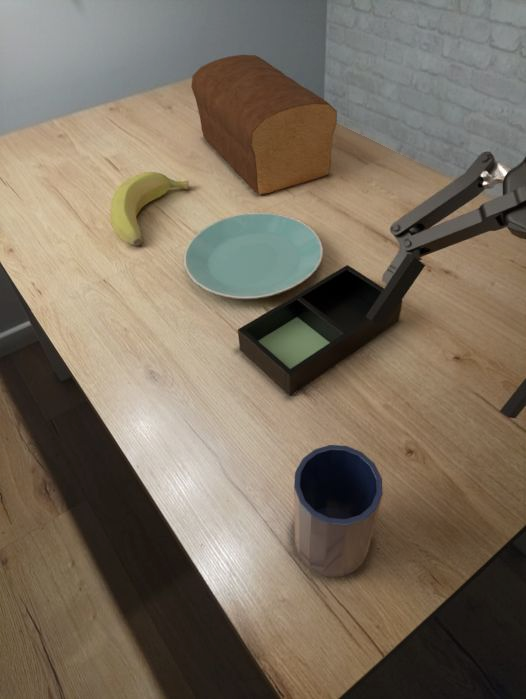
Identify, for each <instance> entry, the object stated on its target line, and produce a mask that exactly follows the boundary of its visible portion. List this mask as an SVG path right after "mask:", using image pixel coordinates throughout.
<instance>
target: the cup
mask: <svg viewBox="0 0 526 699" xmlns="http://www.w3.org/2000/svg"><path fill="white" fill-rule="evenodd" d="M383 492H384V491H383V478H382V475H381V474H380V472H379V469H378V467H377V465H376V464H375V462H374V461H372V460H371V459H370V458H369V457H368V456H367V455H366V454H365V453H363V452H362V451H360V450H358V449H355V448H354V447H353V448H352V447H351V446H348V445H339V444H338V445H337V444H328V445H325V446H321V447H318V448H314V449H313V450H311V452H309V453H308V454H306V455H305V456H304V457H303V458H302V459H301V461H300V462H299V465H298V466H297V468H296V470H295V472H294V482H293V499H294V500H293V503H294V505H293V506H294V508H293V510H294V511H293V512H294V543H295V547H296V551H297V554H298V556H299V557H300V559H301V561H302V562H303V564H304V565H305V566H306V567H308V568H309V569H310V570H311V571H313V572H315V573H316V574H317V575H320V576H324V577H329V578H340V577H344V576H345V577H346V576H348V575H350V574H352V573H354V572H355V571H357V570H358V569H359V568H360V567H361V566H362V564H363V563H364V561H365V559H366V557H367V554H368V552H369V550H370V546H371V543H372V542H371V541H372V538H373V534H374V531H375V526H376V523H377V519H378V514H379V510H380V507H381V502H382V498H383V494H384V493H383Z"/></svg>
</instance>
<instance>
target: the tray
mask: <svg viewBox="0 0 526 699" xmlns="http://www.w3.org/2000/svg"><path fill="white" fill-rule="evenodd" d="M384 288H385V287H383V286H381V285H380V284H378V283H376V282H375V281H373V280H372V279H370V278H369V277H367V276H366V275H364V274H363V273H361V272H359V271H358V270H356V269H355V268H353V267H351V266H350V265H348V264H347V265H345V266H343V267H341V268H339V269H338V270H336V271H334V272H332V273H331V274H329V275H327V276H326V277H324V278H322V279H321V280H319V281H317V282H315V283H314V284H312V285H311V286H309V287H307V288H306V289H304V290H302V291H301V292H298V293H297V294H295V295H294V296H292V297H290V298H288V299H287V300H285V301H284V302H282V303H280V304H278V305H277V306H275V307H274V308H272V309H270V310H268V311H267V312H265V313H263V314H261V315H260V316H258V317H257V318H254V319H252V320H251V321H249V322H248V323H246V324H245V325H243V326H241V327H239V328H237V335H238V336H237V337H238V343H239V344H238V345H239V351H240V352H241V353H243V355H244V356H245V357H247V358H248V359H249V360H250V361H251V362H252V363H253V364H254V365H255V366H256V367H257V368H259V370H261V371H262V372H263V373H264V374H265V375H266V376H267V377H269V379H271V380H272V381H273V382H274V383H275V384H276V385H277V386H278V387H279V388H280V389H281V390H282V391H284V393H286V395H288V396H289V397H291V396H292V395H294V394H296V393H297V392H299V391H301V389H303V388H304V387H306V386H307V385H309V384H310V383H312V382H313V381H315V380H316V379H317V378H319V377H320V376H321V375H323V374H324V373H326V372H328V371H329V370H330V369H332V368H333V367H335V366H336V365H338V364H339V363H341V362H342V361H344V360H345V359H346V358H348V357H350V356H351V355H352V354H354V353H355V352H356V351H358V350H360V349H361V348H363V347H364V346H365V345H367V344H368V343H370V342H371V341H373V340H375V338H377V337H379V336H380V335H381V334H383V333H385V332H386V331H387V330H389V329H390V328H392V327H393V326H394V325H396V324H397V323H398V322H399V321H400V317H401V311H402V306H403V301H404V300H403V299H402V300H401V302H400V303H399V305H398V306H397V308H396V309H395V310H394V312H393V313H392V315H391V316H390V318H389V319H388V321H387V322H386V324H385V325H384V326H383V325H380V324H378V323H375V322H373V321H371V320H370V319H368V318H367V317H365V316H366V315H367V313H368V312H369V310H370V309H371V307H372V306H373V304H374V303H375V301H376V300H377V298H378V297H379V295H380V294H381V292H382V291H383V289H384Z"/></svg>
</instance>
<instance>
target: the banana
mask: <svg viewBox="0 0 526 699" xmlns="http://www.w3.org/2000/svg"><path fill="white" fill-rule="evenodd" d="M189 183H190V180H184V181H183V180H182V181H177V180H174V179H172V178H169V177H168V176H167V175H165V174H163V173H161V172H156V171H144V172H141V173H138V174H135V175H133V176H131V177H129V178H128V179H126V180H124V181H123V182H122V183H120V185H119V186H118V187H117V188H116V189H115V191H114V193H113V195H112V197H111V201H110V224H111V226H112V229H113V230H114V233H116V235H117V236H118V237H119V238H120V239H121V240H123V241H124V242H125V243H127V244H130V245H132V246H135V247H136V246H137V247H138V246H140V245H142V243H143V236H142V231H141V228H140V226H139V223H138V220H137V216H138V214H139V213H140V211H141V209H142V208H143V207H144V206H146V205H147V204H149V203H150V202H152V201H154V200H156V199H158V198H160V197H162V196H163V195H165V194H166V193H167V192H168V191H169V190H170V189H174V188H179V189H184V190H186V191H188V190H189Z"/></svg>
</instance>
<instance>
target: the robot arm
mask: <svg viewBox="0 0 526 699" xmlns="http://www.w3.org/2000/svg"><path fill="white" fill-rule="evenodd" d="M498 184H499V185H500V184H502V195H501V196H498V197H496V198H493V199H491V200H488V201H486V202H483V203H482V204H481V205H480V206H479V207H478V208H476V209H473V210H470V211H468V212H466V213H463V214H461V215H459V216H456V217H453V218H451V219H448V220H446V221H444V222H442V223H440V222H441V221H443V220H444V219H446V218H447V217H448V216H450V215H452V214H453V213H454V212H456V211H458V210H459V209H460V208H462V207H463V206H465V205H467V204H468V203H469V202H471V201H473V200H474V199H475V198H477V197H478V196H479V195H480V194H482V193H483V192H484V191H485V190H491V189H494V188H495V186H496V185H498ZM436 224H437V225H436ZM505 228H507V229H508V231H509V232H510V233H511V235H512V236H514V237H517V238H518V239H522V240H526V156H524V158H523V160H522V161H521V162H520V163H518V164H517V165H516V166H514V167H513V168H510V167H508V166H506V165H505V164H503V163H502V162H499V161H497V160H496V158H495V156H494V154H493V153H492V151H483V152H481V153H480V154H479V155H478V156H477V157H476V159H475V160H474V161H473V163H472V164H471V165H470V166H469V168H467V170H466V171H465V172H464V173H463V174H461V175H460V176H459V177H457V178H455V179H453V181H451V182H449V183H448V184H447V185H445V186H444V187H443V188H441V189H440V190H439V191H437V192H435V193H434V194H433V195H432V196H430V197H429V198H427V199H426V200H424V201H423V202H421V203H420V204H418V205H417V206H416V207H415V208H413V209H412V210H409V211H408V212H407V213H406V214H404V215H403V216H401V217H400V218H399V219H397V220H396V221H394V222H393V223H391V225H390V228H389V231H390V233H391V234H392V236H394V238H395V239H396V241H397V242H398V245H399V250H398V252H397V253H396V255H395V257H394V258H393V259H392V261H391V263H390V264H389V265H388V267H387V269H386V270H385V271H384V273H383V274H382V278H381V281H382V282H383V283H385V284H386V285H385V286H384V287H383V288H384V289H383V291H382V292H381V294H380V295H379V297H378V298H377V300H376V301H375V303H374V304H373V306H372V307H371V309H370V310H369V312H368V313H367V315H366V316H365V317H367V318H368V319H370V320H371V321H373V322H375V323H378V324H380V325H383V326H384V325H385V324H386V322H387V321H388V319H389V318H390V316H391V315H392V313H393V312H394V310H395V309H396V308H397V306H398V305H399V303H400V302H401V300H403V299H404V297H405V296H406V294H407V293H408V291H409V290H410V289H411V287H412V286H413V284H414V283H415V281H416V280H417V278H418V277H419V276H420V274H421V273H422V271H423V270H424V268H425V267H426V264H425V263H423V262H422V260H423V258H422V257H425V256H427V255H431V254H433V253H436V252H437V251H440V250H443V249H446V248H449V247H451V246H454V245H457V244H459V243H462V242H464V241H467V240H470V239H472V238H475V237H477V236H480V235H483V234H486V233H488V232H496V231H497V232H498V231H501V230H502V229H505ZM525 407H526V377H524V380H523V381H522V382H521V384H520V385H518V387H517V388H516V390H515V391H514V392H513V393H512V395H511V396H510V397H509V399H508V400H507V401H506V402H505V403H504V404H503V406H502V407H501V408H500V410H499V413H501V414H502V415H504V416H505V417H506V418H508V419H516V418H517V417H518V416H519V415H520V414H521V412H522V411H523V410H524V409H525Z"/></svg>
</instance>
